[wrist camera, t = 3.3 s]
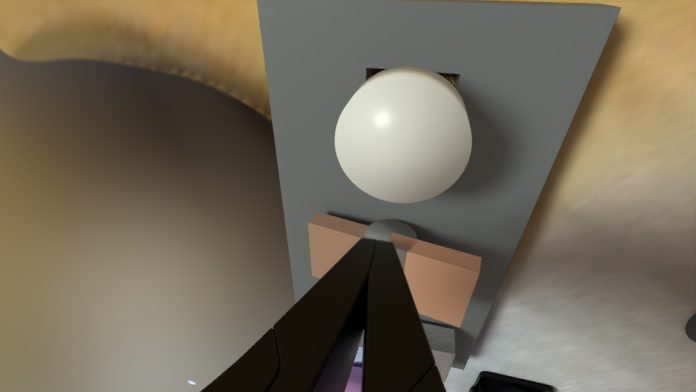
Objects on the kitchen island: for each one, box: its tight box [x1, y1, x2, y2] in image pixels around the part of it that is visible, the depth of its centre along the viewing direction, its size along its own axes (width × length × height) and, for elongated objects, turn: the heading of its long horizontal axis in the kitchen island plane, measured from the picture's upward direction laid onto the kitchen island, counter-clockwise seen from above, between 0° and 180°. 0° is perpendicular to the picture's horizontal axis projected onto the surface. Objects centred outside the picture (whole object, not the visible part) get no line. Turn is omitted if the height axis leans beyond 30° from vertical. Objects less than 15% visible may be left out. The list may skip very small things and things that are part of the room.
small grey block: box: [422, 323, 456, 382], centre depth 25 cm, size 3×4×2 cm
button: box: [335, 66, 472, 203], centre depth 15 cm, size 6×6×4 cm
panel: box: [257, 0, 621, 370], centre depth 22 cm, size 15×27×2 cm, turn 179°
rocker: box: [308, 212, 481, 328], centre depth 20 cm, size 10×5×3 cm, turn 89°
